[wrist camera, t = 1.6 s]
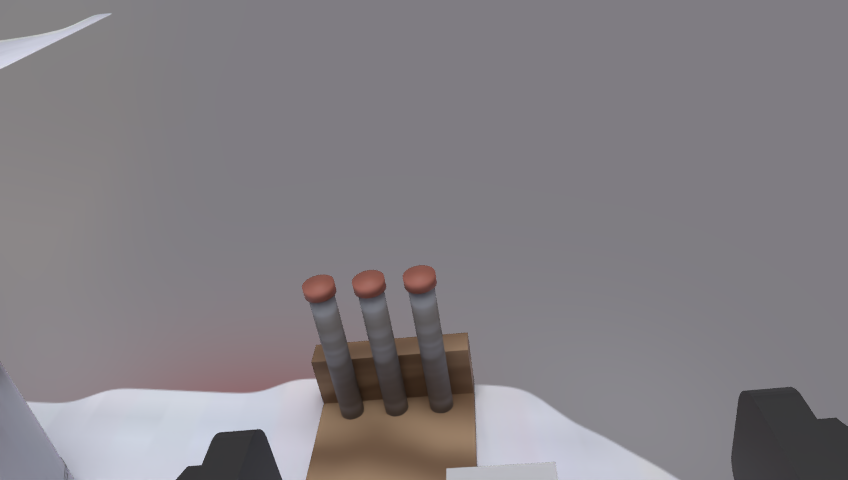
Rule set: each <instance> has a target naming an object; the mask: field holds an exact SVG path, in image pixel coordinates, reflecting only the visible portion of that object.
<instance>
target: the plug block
mask: <svg viewBox="0 0 848 480" xmlns="http://www.w3.org/2000/svg"><path fill="white" fill-rule="evenodd" d="M446 480H558V476H557V469H556V463H555V462H546V463H530V464H513V465H496V466H479V467H462V468H446Z"/></svg>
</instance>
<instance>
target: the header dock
mask: <svg viewBox="0 0 848 480" xmlns="http://www.w3.org/2000/svg"><path fill="white" fill-rule="evenodd" d="M403 281H404V286H405V289H406V290H407V291H408V292H409V297H410V302H411V307H412V313H413V318H414V323H415V329H416V334H417V337H408V338H395V339H394V336H393V331H392V326H391V322H390V317H389V312H388V307H387V303H386V298H385V293H384V290H385V289H386V284H385V279H384V275H383V273H382V272H380V271H376V270H367V271H363V272H361V273H359V274H357V275H356V276H355V277H354V278H353V280H352V284H353V288H354V293H355V295H356V296H358V297H359V301H360V305H361V309H362V313H363V318H364V322H365V326H366V330H367V335H368V339H369V341H359V342H347V341H346V337H345V333H344V329H343V325H342V322H341V318H340V314H339V310H338V306H337V302H336V299H335V293H336V287H335V283H334V280H333V278H332V277H331V276H329V275H317V276H313V277H311V278H309V279H307V280H306V281H305V282H304V283H303V285H302V289H303V293H304V296H305V299H306V300H307V301H308V302H310V306H311V310H312V313H313V317H314V320H315V324H316V327H317V330H318V334H319V338H320V341H321V344H322V345H316V347H315V351H314V354H313V358H312V362H311V363H312V366H313V369H314V373H315V376H316V379H317V383H318V386H319V389H320V392H321V396H322V399H323V402H324V405H323V410H322V414H321V418H320V422H319V427H318V431H317V435H316V439H315V444H314V448H313V452H312V456H311V460H310V465H309V469H308V473H307V477H306V480H446V468H462V467H477V457H476V426H475V395H474V376H473V369H472V362H471V355H470V347H469V340H468V333H456V334H445V335H442V330H441V325H440V318H439V312H438V306H437V300H436V294H435V286H436V283H437V281H436V275H435V271H434V269H433V268H432V267H429V266H425V265H419V266H414V267H412V268H409V269H408V270H406V271H405V272H404V275H403Z"/></svg>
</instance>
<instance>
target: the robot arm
mask: <svg viewBox="0 0 848 480" xmlns="http://www.w3.org/2000/svg"><path fill="white" fill-rule="evenodd" d="M731 459H732V460H731V461H732V471H733V476H734V480H848V426H846V425H845V424H843V423H842V422H841V421H839V420H838V419H837V418H827V419H817V418H816V417H815V415H814V414H813V412H812V411H811V409H810V408H809V406H808V405H807V403H806V402H805V400H804V399H803V397H802V396H801V394H800V393H799V392H798V391H797V390H796V389H794V388H792V387H785V388H773V389H761V390H749V391H742V392H741V394H740V396H739V400H738V408H737V415H736V424H735V431H734V439H733V447H732V456H731ZM0 480H74V478H73V477H72V475H71V473H70V472H69V470H68V469H67V466H66V464H65V463H64V461H63V459H62V458H61V457H60V456H59V454H58V453H57V451H56V449H55V448H54V446H53V444H52V443H51V441H50V440H49V438H48V436H47V435H46V433H45V432H44V430H43V428H42V427H41V425H40V424H39V422H38V420H37V419H36V417H35V416H34V414H33V413H32V411H31V409H30V408H29V406H28V405H27V403H26V401H25V400H24V398H23V397H22V395H21V394H20V392H19V390H18V389H17V387H16V386H15V384H14V382H13V381H12V379H11V378H10V376H9V374H8V373H7V371H6V370H5V368H4V367H3V365H2V363H1V362H0ZM176 480H282V478H281V475H280V473H279V470H278V467H277V464H276V462H275V459H274V456H273V454H272V451H271V448H270V445H269V443H268V440H267V437H266V435H265V433H264V432H263V431H262V430H260V429H257V430H245V431H233V432H221V433H217V434H216V435H215V436H214V438H213V439H212V441H211V444H210V446H209V449H208V451H207V454H206V456H205V458H204V461H203V463H202V465H199V466H188V467H187V468H186V469H185V470H184V471H183V472H182V473H181V475H180V476H179V477H178V478H177V479H176Z"/></svg>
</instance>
